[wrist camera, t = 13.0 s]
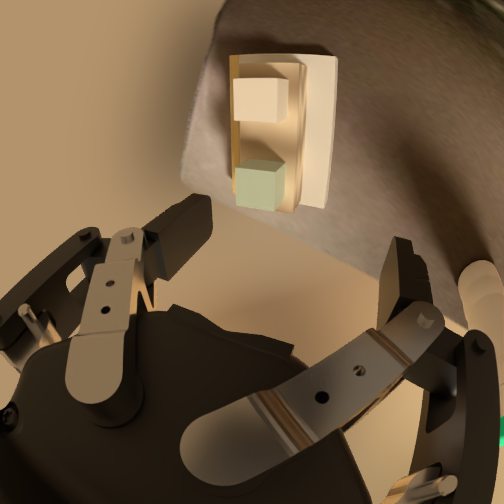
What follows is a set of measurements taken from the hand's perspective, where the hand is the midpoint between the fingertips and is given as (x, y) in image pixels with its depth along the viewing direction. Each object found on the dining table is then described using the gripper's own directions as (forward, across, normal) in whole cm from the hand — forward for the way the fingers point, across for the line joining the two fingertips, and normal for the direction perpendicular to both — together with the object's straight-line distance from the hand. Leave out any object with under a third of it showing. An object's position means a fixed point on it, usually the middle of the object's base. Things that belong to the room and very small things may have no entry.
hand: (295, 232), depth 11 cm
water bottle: (+23, -24, +14) cm, 36 cm away
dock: (+23, +7, 0) cm, 24 cm away
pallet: (+21, +7, 0) cm, 22 cm away
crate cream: (+17, +7, -4) cm, 19 cm away
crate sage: (+17, +7, +4) cm, 19 cm away
